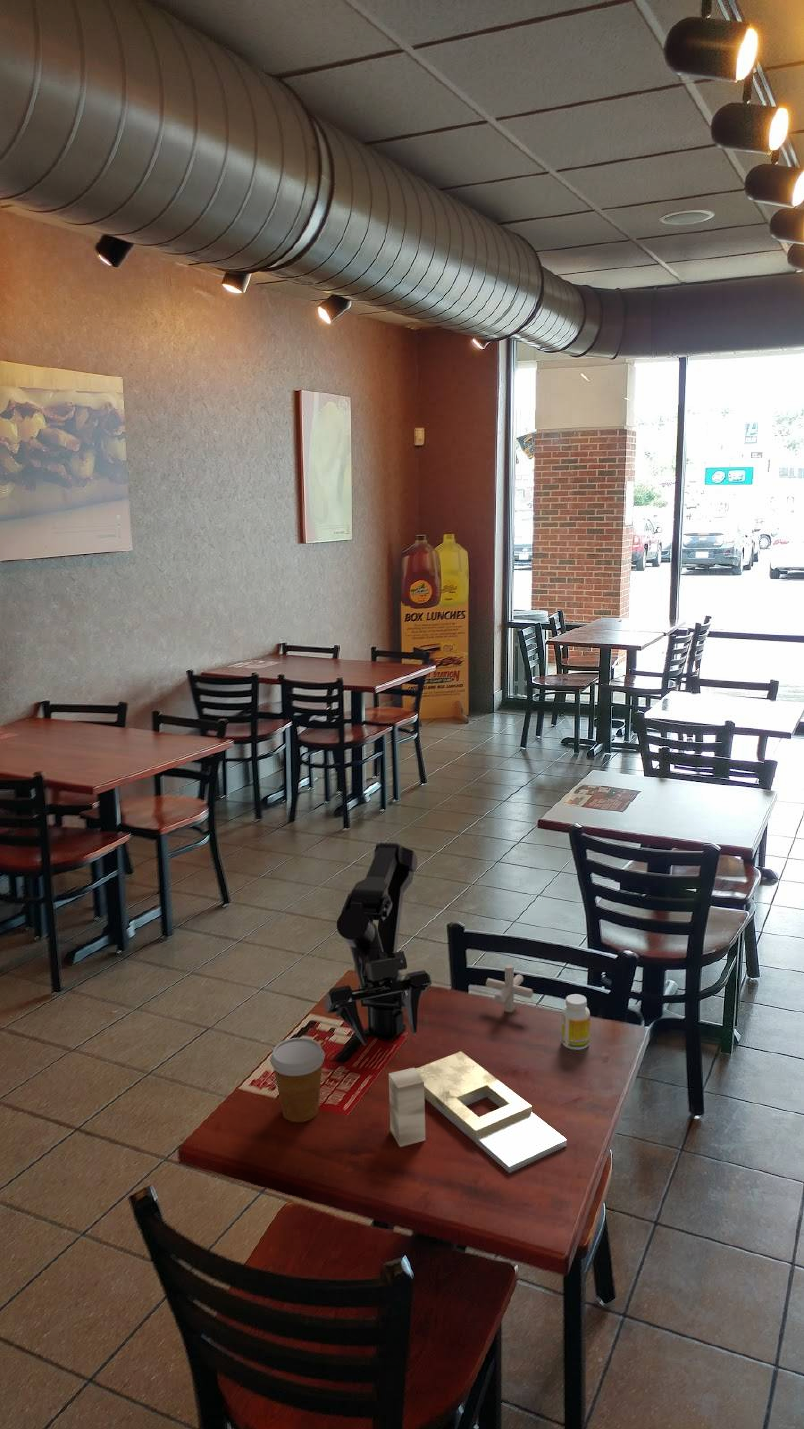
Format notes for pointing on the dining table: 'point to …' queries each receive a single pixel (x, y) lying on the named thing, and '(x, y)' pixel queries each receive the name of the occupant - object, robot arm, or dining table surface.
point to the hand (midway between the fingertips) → (390, 1038)
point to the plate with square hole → (499, 1133)
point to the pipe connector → (509, 988)
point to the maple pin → (407, 1106)
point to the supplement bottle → (575, 1022)
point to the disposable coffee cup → (298, 1077)
